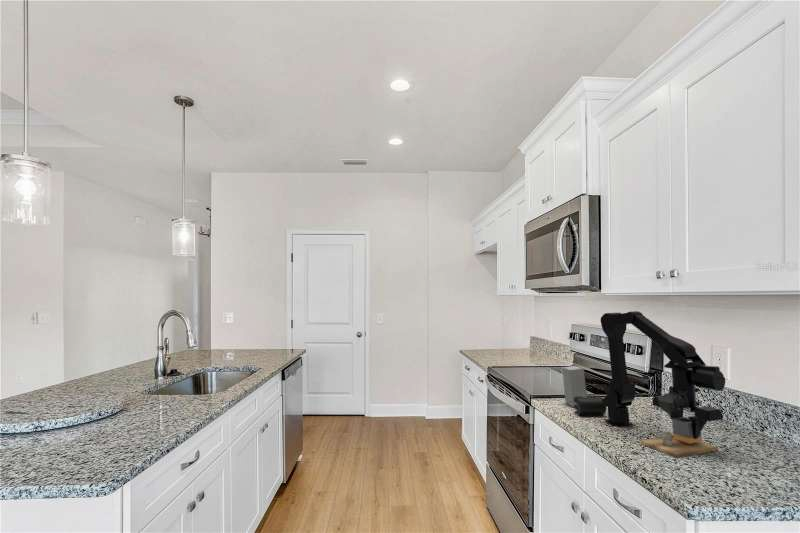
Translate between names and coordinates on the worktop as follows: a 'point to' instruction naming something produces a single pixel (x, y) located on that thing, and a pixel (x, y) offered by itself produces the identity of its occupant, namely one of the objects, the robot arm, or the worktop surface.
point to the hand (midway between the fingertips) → (687, 435)
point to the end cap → (589, 406)
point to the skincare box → (574, 384)
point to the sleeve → (684, 430)
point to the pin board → (677, 446)
